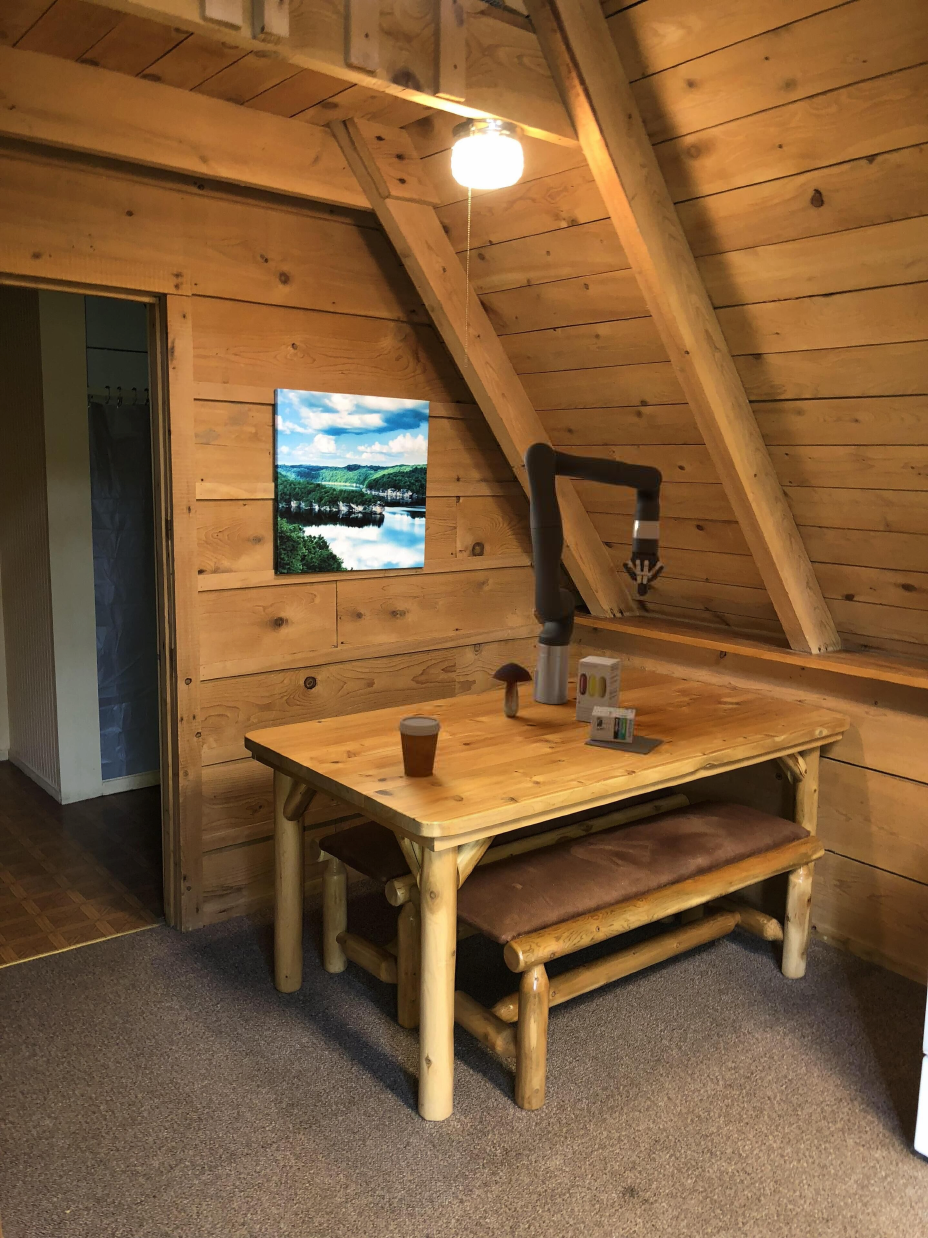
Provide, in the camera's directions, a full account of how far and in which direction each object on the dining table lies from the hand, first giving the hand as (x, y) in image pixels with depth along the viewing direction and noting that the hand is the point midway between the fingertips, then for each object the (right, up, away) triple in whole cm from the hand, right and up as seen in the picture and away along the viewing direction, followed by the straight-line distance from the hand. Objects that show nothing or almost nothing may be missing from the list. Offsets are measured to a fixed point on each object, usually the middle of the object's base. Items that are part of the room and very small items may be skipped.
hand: (642, 595), depth 289 cm
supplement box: (-15, -35, -14) cm, 40 cm away
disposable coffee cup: (-62, -41, -66) cm, 99 cm away
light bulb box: (-19, -33, -32) cm, 50 cm away
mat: (-11, -38, -37) cm, 54 cm away
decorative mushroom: (-39, -34, -14) cm, 53 cm away
